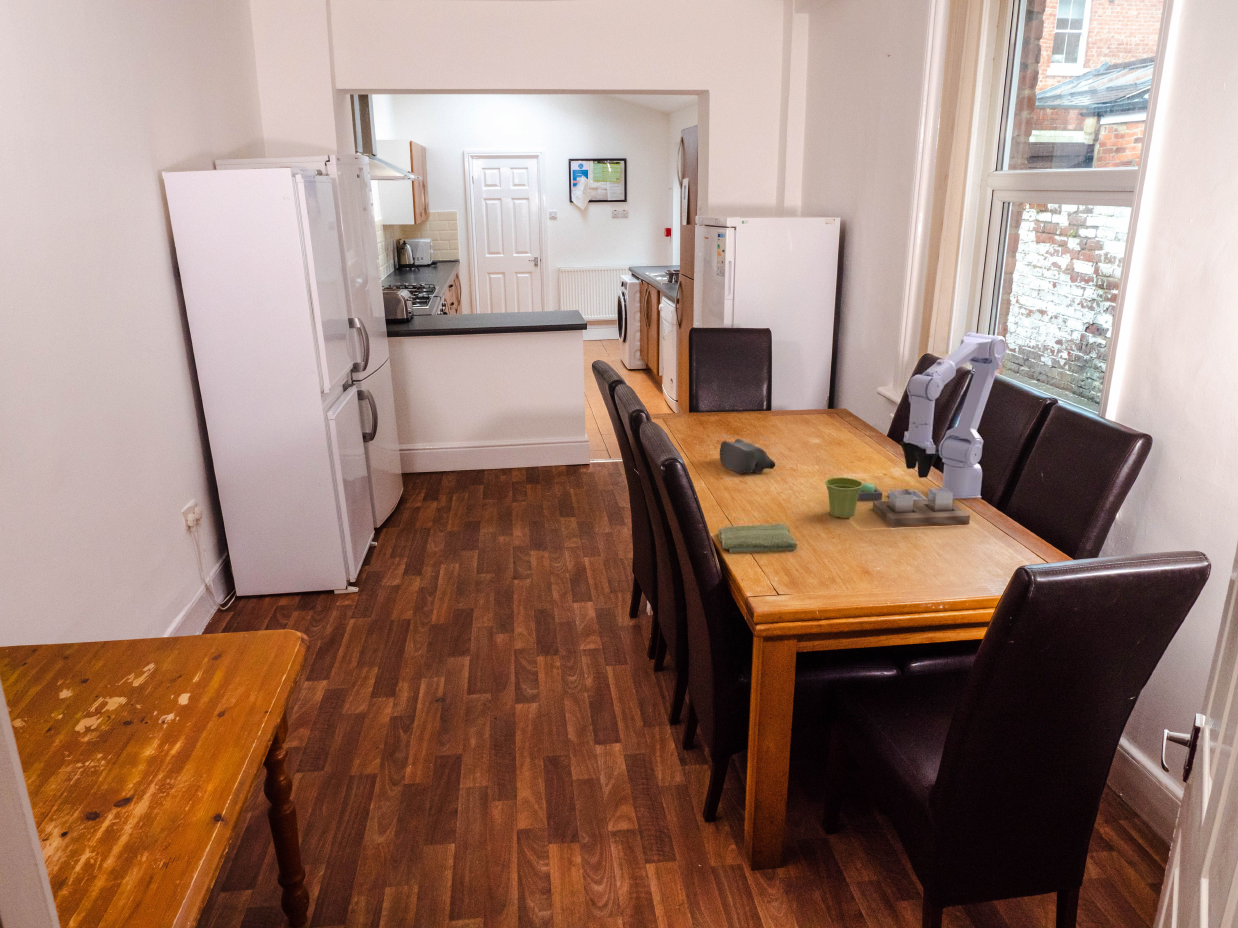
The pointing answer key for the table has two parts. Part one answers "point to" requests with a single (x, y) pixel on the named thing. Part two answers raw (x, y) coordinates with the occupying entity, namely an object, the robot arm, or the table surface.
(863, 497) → the button housing
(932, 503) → the seated billet
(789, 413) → the table surface
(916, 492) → the shallow grey tray
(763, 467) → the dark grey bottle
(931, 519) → the board
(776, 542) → the washcloth
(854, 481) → the plant pot
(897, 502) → the billet
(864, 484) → the button
